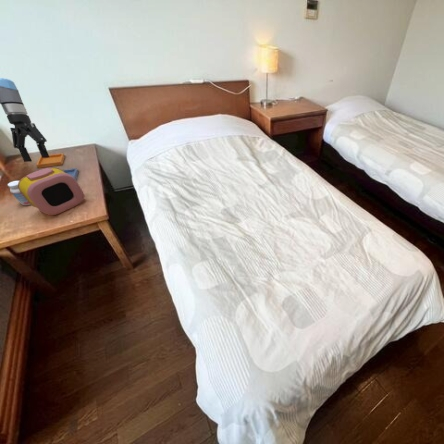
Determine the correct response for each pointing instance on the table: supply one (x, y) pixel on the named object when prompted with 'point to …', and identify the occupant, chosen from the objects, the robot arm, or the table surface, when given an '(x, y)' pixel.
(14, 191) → the pill bottle
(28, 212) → the table surface
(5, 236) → the table surface
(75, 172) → the blue tray
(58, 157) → the amber tray
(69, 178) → the alarm clock
